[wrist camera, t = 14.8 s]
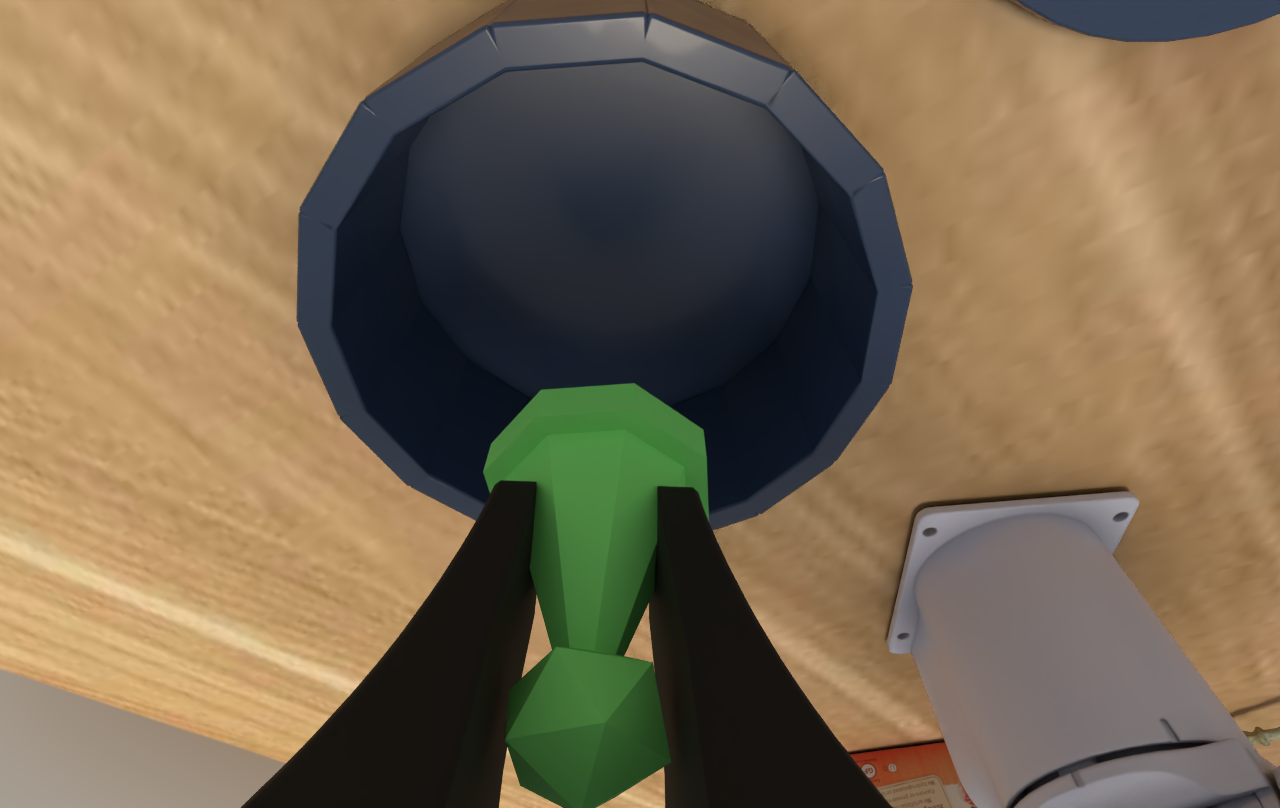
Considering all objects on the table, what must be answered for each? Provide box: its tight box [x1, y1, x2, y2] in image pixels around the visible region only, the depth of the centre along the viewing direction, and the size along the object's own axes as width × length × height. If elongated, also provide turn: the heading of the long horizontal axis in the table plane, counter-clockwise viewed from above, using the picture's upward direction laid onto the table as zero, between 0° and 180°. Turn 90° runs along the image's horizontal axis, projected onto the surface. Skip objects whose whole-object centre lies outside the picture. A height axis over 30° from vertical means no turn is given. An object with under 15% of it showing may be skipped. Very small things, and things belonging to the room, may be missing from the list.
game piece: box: [483, 383, 709, 808], centre depth 10 cm, size 4×4×6 cm
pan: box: [297, 0, 913, 531], centre depth 16 cm, size 12×12×5 cm
